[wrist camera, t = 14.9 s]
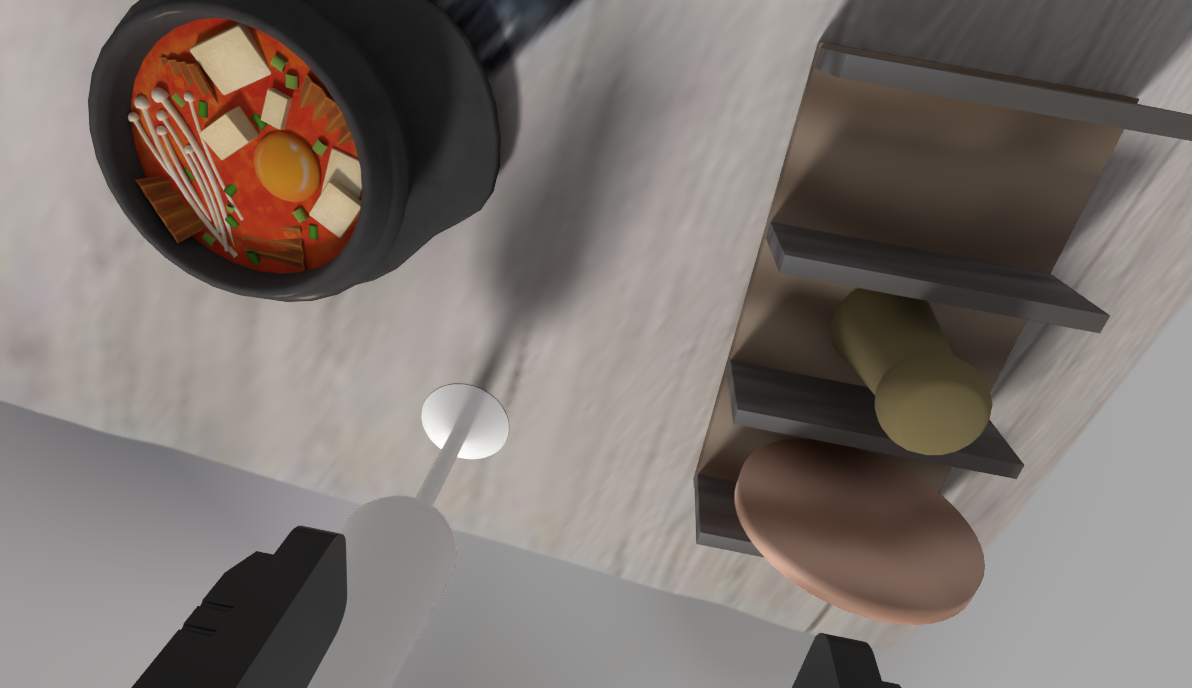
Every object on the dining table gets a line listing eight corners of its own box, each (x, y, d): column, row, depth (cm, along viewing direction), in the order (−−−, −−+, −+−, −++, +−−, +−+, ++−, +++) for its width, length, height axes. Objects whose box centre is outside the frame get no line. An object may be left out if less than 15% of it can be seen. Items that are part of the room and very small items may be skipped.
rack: (818, 41, 35) (903, 59, 22) (1127, 96, 35) (1406, 148, 21) (693, 479, 49) (699, 652, 36) (914, 522, 49) (1002, 714, 35)
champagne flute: (405, 425, 50) (200, 733, 29) (450, 366, 47) (261, 659, 26) (478, 474, 51) (335, 803, 30) (526, 419, 48) (407, 739, 27)
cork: (910, 262, 39) (988, 346, 29) (947, 342, 41) (1031, 445, 31) (814, 308, 41) (856, 401, 31) (853, 382, 43) (904, 491, 33)
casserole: (202, 299, 47) (112, 353, 40) (65, 13, 39) (-80, 13, 32) (539, 249, 42) (509, 299, 35) (460, -87, 35) (400, -114, 27)
